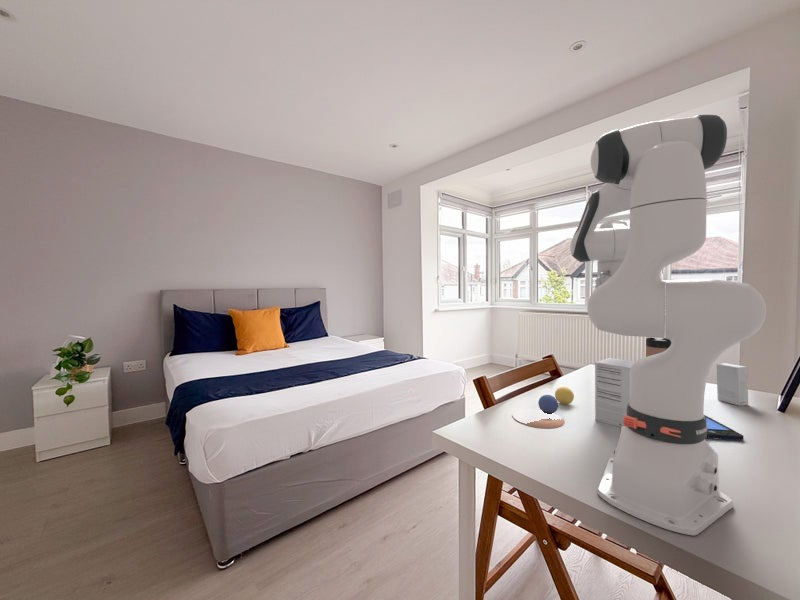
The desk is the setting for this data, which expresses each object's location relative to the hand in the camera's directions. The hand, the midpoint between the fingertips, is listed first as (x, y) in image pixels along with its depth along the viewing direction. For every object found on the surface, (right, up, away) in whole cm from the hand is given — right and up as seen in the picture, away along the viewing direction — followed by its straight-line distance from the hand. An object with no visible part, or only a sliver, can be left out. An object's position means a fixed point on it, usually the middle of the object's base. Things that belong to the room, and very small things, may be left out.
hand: (612, 312), depth 110 cm
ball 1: (-26, -27, -11) cm, 39 cm away
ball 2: (-18, -27, -3) cm, 32 cm away
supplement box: (-9, -30, -17) cm, 36 cm away
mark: (-31, -30, -14) cm, 45 cm away
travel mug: (+16, -29, +1) cm, 33 cm away
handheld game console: (+8, -30, -22) cm, 38 cm away
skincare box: (+36, -29, -4) cm, 46 cm away
